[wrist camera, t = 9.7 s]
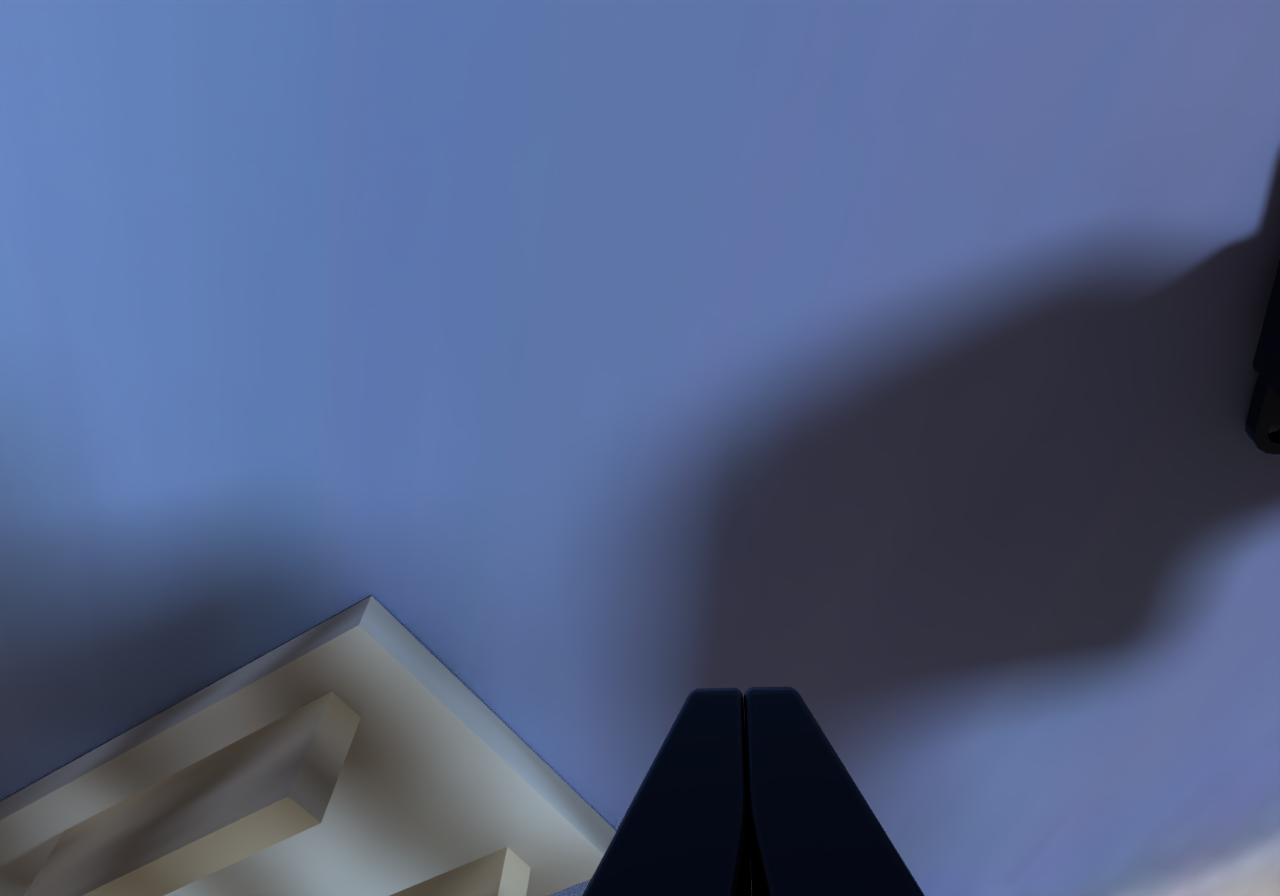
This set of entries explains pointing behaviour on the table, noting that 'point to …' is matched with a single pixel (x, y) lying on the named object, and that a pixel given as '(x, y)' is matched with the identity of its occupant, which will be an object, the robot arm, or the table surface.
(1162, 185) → the table surface
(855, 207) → the table surface
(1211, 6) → the table surface
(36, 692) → the table surface
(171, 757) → the chute
